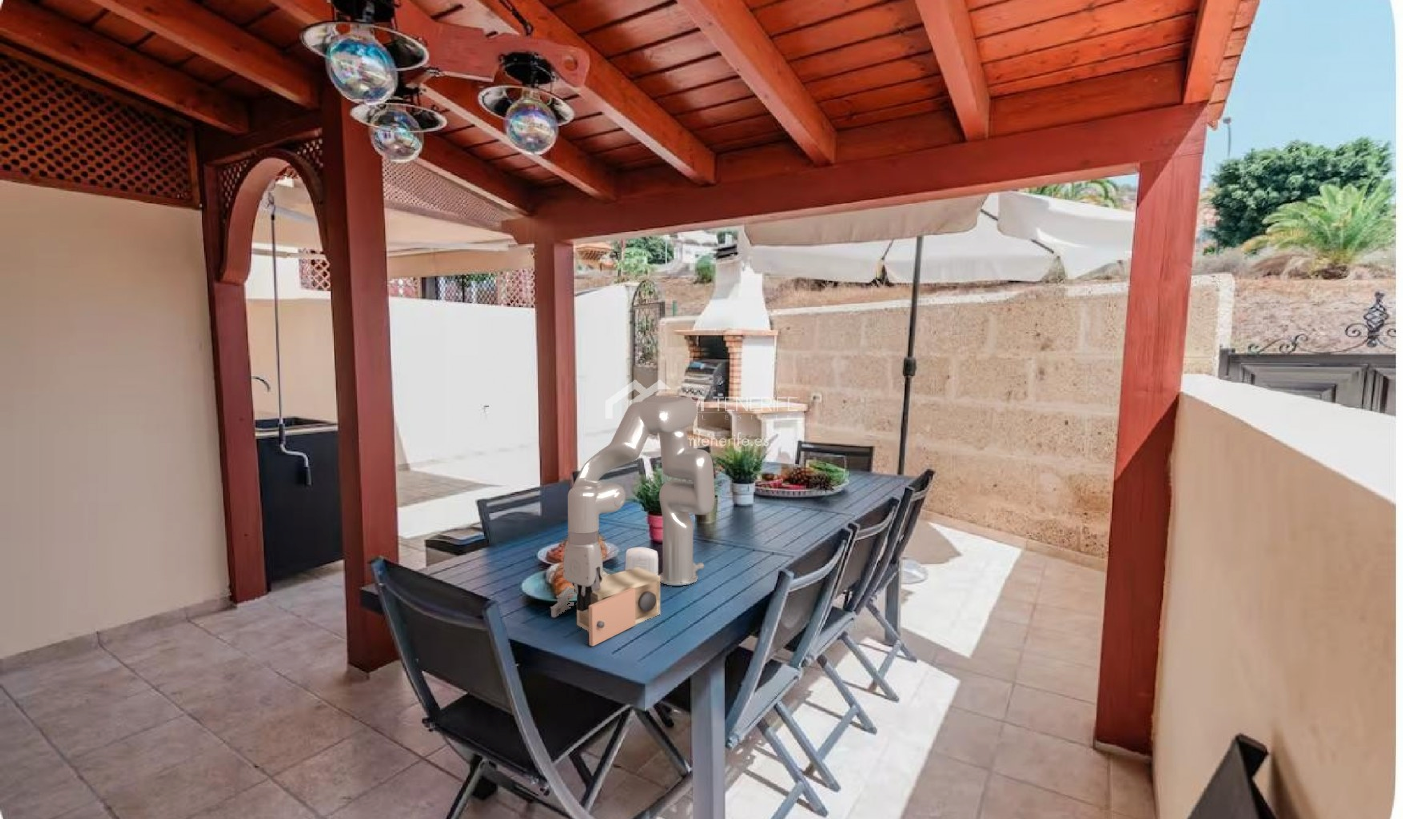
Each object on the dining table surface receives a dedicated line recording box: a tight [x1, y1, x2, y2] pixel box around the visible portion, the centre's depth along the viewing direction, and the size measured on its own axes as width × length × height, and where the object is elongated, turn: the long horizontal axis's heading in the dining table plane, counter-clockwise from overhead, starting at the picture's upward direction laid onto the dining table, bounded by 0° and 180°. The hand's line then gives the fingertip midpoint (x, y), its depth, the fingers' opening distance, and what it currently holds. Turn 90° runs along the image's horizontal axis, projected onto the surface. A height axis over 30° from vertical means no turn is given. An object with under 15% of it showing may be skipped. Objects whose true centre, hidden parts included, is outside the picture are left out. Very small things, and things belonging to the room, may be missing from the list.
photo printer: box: [624, 546, 659, 575], centre depth 191 cm, size 10×4×12 cm, turn 78°
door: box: [588, 588, 636, 647], centre depth 157 cm, size 15×2×10 cm, turn 143°
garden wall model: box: [549, 586, 575, 618], centre depth 174 cm, size 12×2×6 cm, turn 159°
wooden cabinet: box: [576, 567, 661, 633], centre depth 167 cm, size 20×11×11 cm, turn 133°
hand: (583, 609), depth 157 cm, fingers closed
